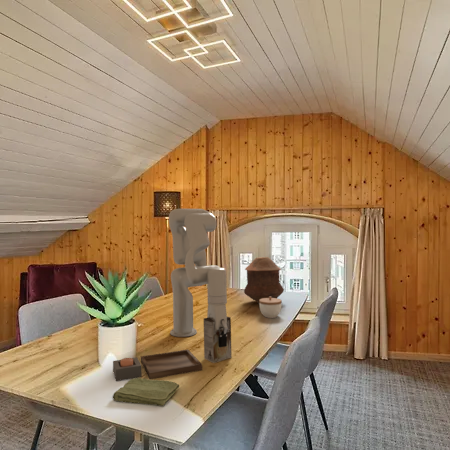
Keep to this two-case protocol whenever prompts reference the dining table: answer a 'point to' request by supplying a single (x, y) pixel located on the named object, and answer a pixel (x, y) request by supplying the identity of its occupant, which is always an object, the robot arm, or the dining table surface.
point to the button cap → (126, 362)
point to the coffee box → (215, 342)
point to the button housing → (127, 370)
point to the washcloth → (146, 391)
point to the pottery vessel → (263, 279)
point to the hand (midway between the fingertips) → (217, 343)
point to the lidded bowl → (270, 307)
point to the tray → (170, 364)
